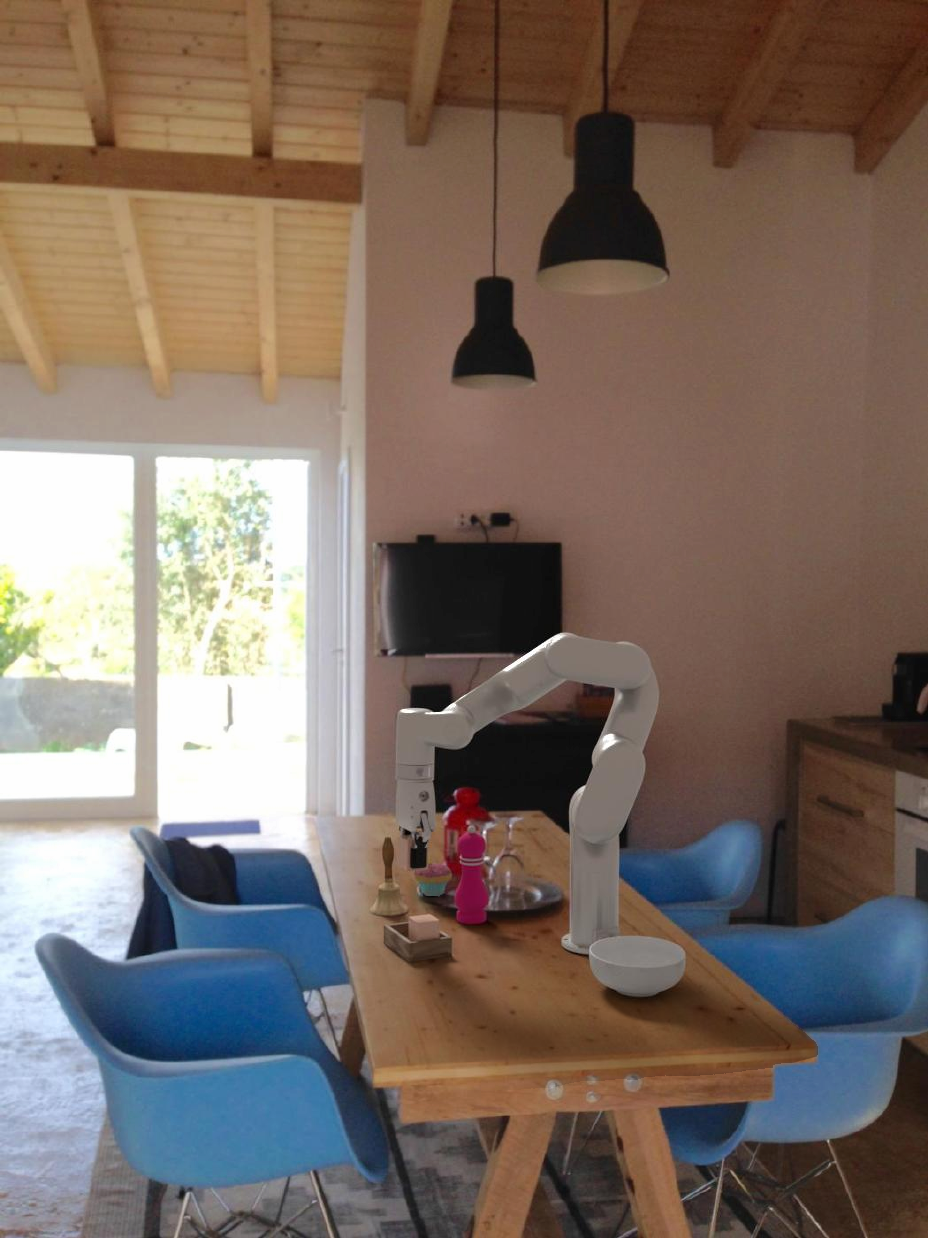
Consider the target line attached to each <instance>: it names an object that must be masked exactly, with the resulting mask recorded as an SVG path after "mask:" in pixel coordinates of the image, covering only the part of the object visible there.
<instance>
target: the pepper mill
mask: <svg viewBox="0 0 928 1238" xmlns="http://www.w3.org/2000/svg"><path fill="white" fill-rule="evenodd" d="M476 832H477V829H476V826H474V825H469V826H468V827H467V832H466V833H463V834H462V835H461V836H460V837H459V838H458V841H457V850H458V852H459V853H460V856H459V859H460V860H459V863H460V864H461V878H460V881H459V884H458V886H457V888H456V890H455V894H454V904H455V906H456V907H457V908H458V910H457V911H456V921H457V922H459V923H460V924H464V925H479V924H483V923H485V922H486V921H487V911H486V910H485V908H486V907H487V906H488V904H489V902H490V898H489V892H488V889H487V887H486V886H485V882H484V880H483V876H482V865H483V863H485V862H484V855H483V854H484V852H485V851H486V848H487V843H486V839H485V838H484V836H483V835H481V834H480V833H476Z"/></svg>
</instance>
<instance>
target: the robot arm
mask: <svg viewBox="0 0 928 1238" xmlns="http://www.w3.org/2000/svg"><path fill="white" fill-rule="evenodd" d="M652 666H653V665H652V663H651V660H650V657H649V655H648V654H647V652H646V651H645V650H644V649H643V648H641V647H640V646H638V645H636V644H635V643H632V642H629V641H623V640H622V641H618V642H613V641H605V640H600V639H593V638H588V637H583V636H579V635H577V634H574V633H572V632H560V633H557V634H555V635H554V636H552V637H550V638H549V639H547V640H546V641H544V642H543V643H541V644H539V645H538V646H537V647H535V648H533V649H532V650H530V652H528V653H526V654H525V655H523V656H522V657H520V658H518V659H517V660H515V661H513V662H512V663H510V664H509V665H508V666H506V667H505V668H503V669H502V670H501V671H499V672H497V673H496V674H495V675H494V674H493V676H492V677H490V678H489V679H488V680H486V681H485V682H483V683H482V684H481V685H478V686H477V687H475V688H474V689H473V690H471V691H469V692H467V694H465V695H463V696H462V697H460V698H458V699H457V700H456V701H455V702H452V703H451V704H450V705H448V706H446V708H444V709H443V710H442V711H439V712H434V711H433V710H430V709H428V708H422V707H421V708H419V707H416V708H415V707H411V708H410V707H408V708H403V709H402V708H401V709H400V710H399V711H397V715H396V728H395V729H396V731H395V732H396V734H395V736H396V737H395V780H396V781H397V783H396V792H395V795H396V796H395V823H396V825H398V830H399V836H403V835H412V846H413V848H411V855H410V867H411V868H412V869H416V868H425V867H426V866H427V847H428V848H429V840H430V838H431V837H432V833H433V832H435V830H436V829H437V828H436V822H437V821H436V814H437V813H436V797H435V796H436V795H435V786H434V782H433V781H434V780H435V747H436V748H441V749H448V750H460V749H463V748H465V747H467V746H468V744H470V742H471V740H472V739H473V737H474V734H476V732H478V731H480V730H482V729H483V728H484V727H486V726H488V725H489V724H490V723H492V722H494V721H495V720H497V719H499V718H500V717H502V716H505V715H506V714H508V713H512V712H515V711H516V712H517V711H520V710H522V709H524V708H526V707H528V706H530V705H532V704H533V703H535V702H536V701H538V700H539V699H540V698H541V697H543V696H545V695H546V694H548V693H549V692H551V691H552V690H554V689H555V688H557V687H558V686H560V685H561V684H563V683H564V682H566V681H572V682H577V683H581V684H587V685H588V684H589V685H594V686H602V687H607V688H614V698H613V703H612V706H611V708H610V711H609V713H608V717H607V720H606V721H605V724H604V727H603V729H602V731H601V734H600V736H599V738H598V741H597V743H596V745H595V746H594V749H593V751H592V755H591V764H592V769H591V772H590V774H589V777H588V779H587V781H586V784H585V785H583V786H581V787H580V788H578V789H577V790H576V791H575V792H574V794H573V795H572V797H571V799H570V802H569V809H568V822H569V824H568V825H569V933H566V934H565V935H563V936H562V937H561V946H562V947H563V948H564V949H565V950H567V951H569V952H572V953H577V954H581V955H586V956H589V949H590V946H591V945H592V944H593V943H595V942H597V941H599V940H602V939H606V938H610V937H618V936H621V935H620V934H621V933H620V932H621V928H620V927H619V915H620V914H619V913H620V912H619V911H620V907H619V897H620V895H619V892H620V890H619V888H620V886H619V885H620V883H619V881H620V877H619V876H620V870H619V869H620V836H619V835H620V833H621V832H622V831H623V829H624V827H625V824H626V822H627V820H628V818H629V815H630V812H631V811H632V808H633V805H634V803H635V802H636V801H635V800H636V798H637V796H638V794H639V791H640V789H641V786H642V783H643V781H644V777H645V773H646V767H647V766H646V765H647V764H646V758H645V755H644V754H643V751H644V748H645V746H646V742H647V740H648V737H649V736H650V733H651V730H652V727H653V724H654V721H655V718H656V715H657V711H658V706H659V701H660V700H659V698H660V689H659V684H658V679H657V676H656V673H655V670H654V668H653V667H652ZM418 829H421V830H419V831H418ZM417 835H421V836H419V837H418V839H417Z"/></svg>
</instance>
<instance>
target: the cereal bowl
mask: <svg viewBox="0 0 928 1238" xmlns="http://www.w3.org/2000/svg"><path fill="white" fill-rule="evenodd" d="M686 957H687V955H686V951H685V949H684V948H683V947H682V946H681V945H679V944H676V943H675V942H673V941H671V940H668V939H667V940H666V939H664V938H658V937H654V936H648V935H647V936H646V935H645V936H644V935H620V936H618V937H610V938H606V939H602V940H599V941H597V942H595V943H593V944H592V945H591V946H590V949H589V955H588V959H589V960H588V961H589V966H590V969H591V973H593V976H594V977H595V978H596V979H597V981H599V982H600V983H601V984H602V985H604V986H606V987H608V988H610V989H611V990H615V991H616V992H617V993H619V994H620V995H624V996H627V997H628V996H629V997H635V998H645V997H652V996H653V997H654V996H655V995H657V994H659V993H660V992H664V991H666V990H668V989H671V988H672V987H674V986H675V985H676V984H678V982H680V980H681V979H682V978H683V975H684V973H685V970H686V966H687V965H686V961H687V960H686Z"/></svg>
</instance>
